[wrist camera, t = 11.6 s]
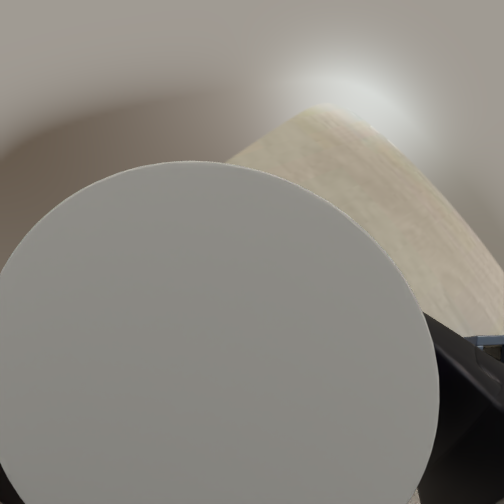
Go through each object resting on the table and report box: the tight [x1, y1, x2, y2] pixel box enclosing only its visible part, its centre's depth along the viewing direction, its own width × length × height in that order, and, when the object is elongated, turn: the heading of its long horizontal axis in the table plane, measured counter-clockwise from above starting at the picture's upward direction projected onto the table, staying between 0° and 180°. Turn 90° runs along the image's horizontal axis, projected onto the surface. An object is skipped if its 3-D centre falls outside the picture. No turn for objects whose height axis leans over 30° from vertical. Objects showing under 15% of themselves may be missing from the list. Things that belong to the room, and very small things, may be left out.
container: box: [0, 161, 439, 504], centre depth 9 cm, size 5×5×15 cm
